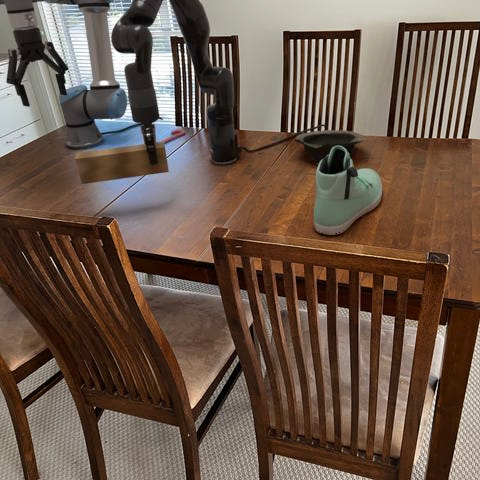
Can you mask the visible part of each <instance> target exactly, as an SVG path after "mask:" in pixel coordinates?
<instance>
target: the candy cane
mask: <svg viewBox="0 0 480 480" xmlns="http://www.w3.org/2000/svg"><path fill="white" fill-rule="evenodd" d="M170 134H171V135H172V136H169V137H166V138H165V139H163V140H161V142H163V141H164V144H166V143H169V142H172V141H173V140H175V139H177V138H180V137H181V136H184V135H185V134H186V131H185V130H184V129H182V128H181V129H180V128H178V129H173V130H171V132H170Z"/></svg>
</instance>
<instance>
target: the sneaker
mask: <svg viewBox="0 0 480 480" xmlns="http://www.w3.org/2000/svg"><path fill="white" fill-rule="evenodd" d="M317 165H318V166H317V168H316V172H315V201H314V207H313V225H314V229H315V231H316V232H318V233H320V234H323V235H326V236H327V235H328V236H336V235H339V234H342V233H344V232H345V231H347V230H348V229H349V228H350V227H351V226H352V225H353V224H354V222H356V221H357V220H358V219H359V218H360V217H362V216H363V215H365V214H367V213H370V212H372V210H374V209H375V208H377V207H378V205H380V203H381V200H382V196H383V184H382V183H383V182H382V179H381V176H380V175H379V173H378V172H377V171H376V170H374V169H372V168H367V167H365V168H358V169H357V168H355V167H354V161H353V159H352V158H350V156H349V153H348V152H347V150H346V149H345V148H344V147H342V146H334V147H333V148H332V149H331V152H330V154H329V155H327V156H326V157H325V158H324V159H322V160H321V161H320V163H319V164H317ZM343 230H344V231H343ZM319 231H320V232H319ZM322 232H323V233H322ZM339 232H340V233H339ZM326 233H327V234H326ZM328 233H329V234H328ZM335 233H337V234H335Z"/></svg>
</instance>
